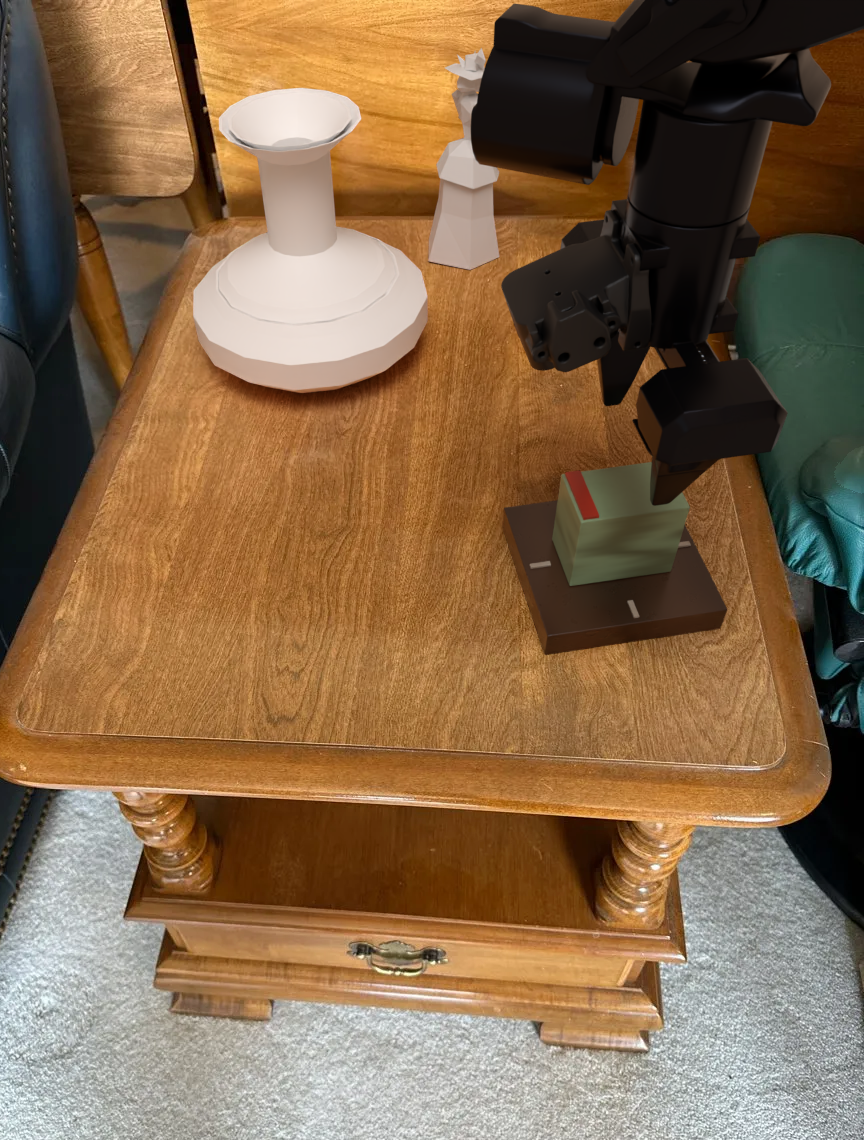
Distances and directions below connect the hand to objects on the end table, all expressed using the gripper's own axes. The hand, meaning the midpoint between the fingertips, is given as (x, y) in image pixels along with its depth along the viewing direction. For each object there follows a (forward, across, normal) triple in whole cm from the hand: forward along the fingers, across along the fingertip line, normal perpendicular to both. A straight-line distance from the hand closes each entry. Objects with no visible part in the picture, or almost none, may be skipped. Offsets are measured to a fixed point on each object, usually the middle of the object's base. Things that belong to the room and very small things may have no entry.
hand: (634, 451), depth 58 cm
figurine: (+11, -44, -1) cm, 46 cm away
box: (+9, 0, 0) cm, 9 cm away
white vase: (+11, -31, -17) cm, 37 cm away
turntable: (+11, 0, 0) cm, 11 cm away
